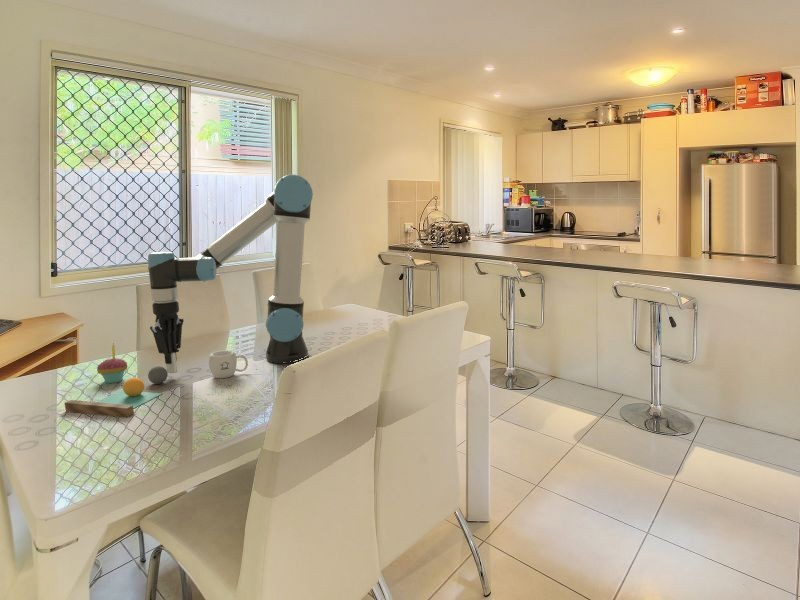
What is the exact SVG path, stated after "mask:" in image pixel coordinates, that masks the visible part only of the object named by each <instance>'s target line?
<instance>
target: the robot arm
mask: <svg viewBox="0 0 800 600" xmlns="http://www.w3.org/2000/svg"><path fill="white" fill-rule="evenodd" d="M313 193H314V192H313V188H312V187H311V184H310V182H309V181H308V180H306V179H305V177H303V176H301V175H297V174H286V175H283V176H282V177H280V178H279V179H278V180H277V181H276V183H275V185H274V188H273V192H271V194H269V195H268V196H267V197H265V199H264V203H263V204H261V205H260V206H259V207H258V208H257V209H255V210H254V211H252V212H251V213H250V214H249V215H247V216H246V217H245V218H243V219H242V220H241V221H239V222H238V223H237V224H235V226H233V227H232V228H231V229H229V230H228V231H227V232H226V233H224V234H223V235H222V236H220V237H219V238H218V239H217V240H216V241H214V242H212V244H210V245H208V246H207V248H205V249H204V250H202V251H201V252H200V253H198V254H197V255H196V256H193V257H175V253H173V252H172V251H158V252H151V253H149V254H148V256H147V259H148V260H147V263H148V268H147V269H148V274H149V275H148V276H149V284H150V294H151V301H152V303H151V306H152V314H154V315H155V320H154V322H155V323H154V325H151V326H150V327H149V329H150V331H151V332H152V334H153V338H154V340H155V344H156V347H157V352H158V354H162V355H164V363H165V365H166V366H165V367H166V370H167V373H168V374H175V373H178V365H177V362H178V361H177V360H178V357H177V353H179V352H180V349H181V347H182V346H181V345H182V334H183V333H182V332H183V324H184V318H180V317H179V316H178V313H179V312H180V306H179V305H180V304H179V301H178V299H179V293H178V285H177V283H179V282H180V283H182V282H208V281H214V280H215V279H216V277H217V270H218V269H219V268H220V267H221V266H223V265H224V264H225V263H227V262H228V261H229V260H230V259H232V258H234V256H236V255H237V254H238V253H239V252H240V251H242V250H243V249H245V248H246V247H248V245H250V244H251V243H252V242H254V241H255V240H256V239H257V238H259V237H260V236H261V235H263V234H264V233H265V232H266V231H267V230H269V229H270V228H271V227H272V226H274V225H275V224H276V223H277V228H276V229H277V231H276V247H275V261H274V262H275V264H274V265H275V266H274V279H273V280H274V281H273V294H272V295H271V296H269V298H268V299H267V305H266V306H267V317H266V321H265V328H266V331H267V332H268V335H269V341H268V345H267V348H266V352H265V360H266V359H267V360H268V361H267V360H266V361H267V362H269V361H270V362H269V363H272V362H274V363H273V364H284V363H283V362H290V361H291V362H293V361H295V360H298V361H299V359H301V358H303V359H304V360H306V359H307V358H306V357H305V356H307V355H308V356H309V350H308V347H307V345H306V341H305V339H304V337H303V329H304V319H303V318H304V305H305V300H304V299H303V298H302V297H301V282H302V270H303V269H302V268H303V254H304V238H305V226H306V224H307V223H308V222H309V221H310V220H311V209H312V206H311V205H312V201H313ZM304 357H305V358H306V359H305V358H304ZM303 359H301V360H302V361H304V360H303ZM299 362H300V361H299ZM295 363H297V361H296V362H295Z"/></svg>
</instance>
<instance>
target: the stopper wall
mask: <svg viewBox="0 0 800 600" xmlns="http://www.w3.org/2000/svg"><path fill="white" fill-rule="evenodd" d="M64 408H65V409H64V410H65V412H67V411H70V412H69V413H77V414H78V413H79V414H88V415H89V414H90V415H100V416H110V417H120V418H130V417H132V416H134V415H135V411H134V409H133V405H122V404H111V403H100V402H97V401H86V400H74V399H70V400H67V401H65V402H64Z"/></svg>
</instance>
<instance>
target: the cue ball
mask: <svg viewBox="0 0 800 600" xmlns="http://www.w3.org/2000/svg"><path fill="white" fill-rule="evenodd" d="M168 374H169V373H167V368H165V367H163V366H160V365H158V366H154V367H152V368H151V369H150V370H148V373H147V378H148V380H149V382H151V383H152V384H155V385H159V384H162V383H164V382H166V380H167V378H168V376H169V375H168Z"/></svg>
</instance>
